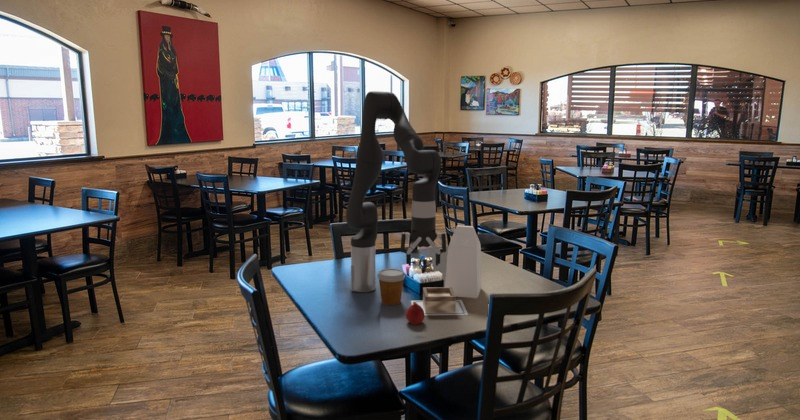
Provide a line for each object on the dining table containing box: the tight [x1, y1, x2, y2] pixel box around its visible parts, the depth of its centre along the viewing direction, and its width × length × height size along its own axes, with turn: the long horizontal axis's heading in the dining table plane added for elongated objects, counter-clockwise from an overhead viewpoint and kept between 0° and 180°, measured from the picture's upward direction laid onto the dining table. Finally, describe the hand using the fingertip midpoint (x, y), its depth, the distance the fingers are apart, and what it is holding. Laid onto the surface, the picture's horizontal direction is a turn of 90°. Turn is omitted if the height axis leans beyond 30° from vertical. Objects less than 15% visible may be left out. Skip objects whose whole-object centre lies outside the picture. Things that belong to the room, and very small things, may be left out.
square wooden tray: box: [422, 286, 457, 313], centre depth 187 cm, size 10×10×6 cm
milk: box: [444, 224, 482, 299], centre depth 202 cm, size 12×12×26 cm
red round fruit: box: [405, 302, 425, 326], centre depth 174 cm, size 6×6×8 cm
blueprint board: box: [410, 299, 469, 316], centre depth 188 cm, size 18×14×1 cm
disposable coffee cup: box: [377, 268, 406, 306], centre depth 192 cm, size 10×10×12 cm
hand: (423, 265), depth 174 cm, fingers open, 8 cm apart
